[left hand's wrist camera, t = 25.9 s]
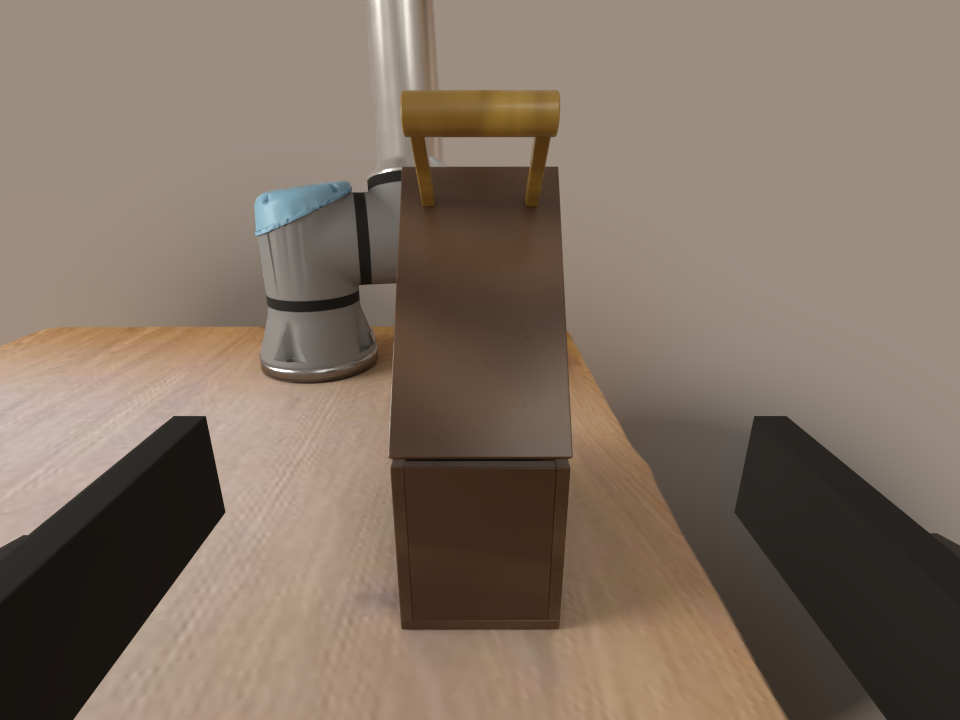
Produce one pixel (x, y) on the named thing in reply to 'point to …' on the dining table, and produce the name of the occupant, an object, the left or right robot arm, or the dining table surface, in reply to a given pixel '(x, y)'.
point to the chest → (480, 542)
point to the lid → (480, 288)
